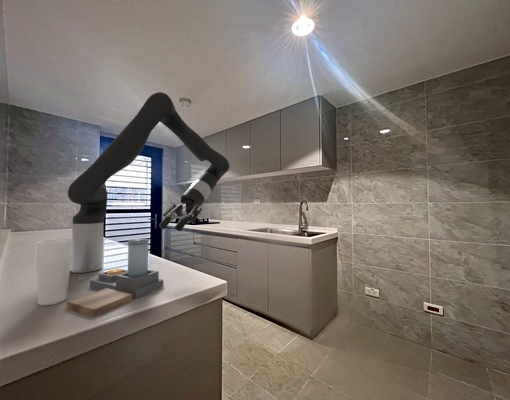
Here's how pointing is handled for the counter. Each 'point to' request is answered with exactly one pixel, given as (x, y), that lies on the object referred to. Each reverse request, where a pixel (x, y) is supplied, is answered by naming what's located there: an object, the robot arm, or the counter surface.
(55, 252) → the drinking glass
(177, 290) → the counter surface
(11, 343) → the counter surface
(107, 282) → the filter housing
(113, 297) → the walnut board
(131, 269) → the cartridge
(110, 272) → the button
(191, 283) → the counter surface
